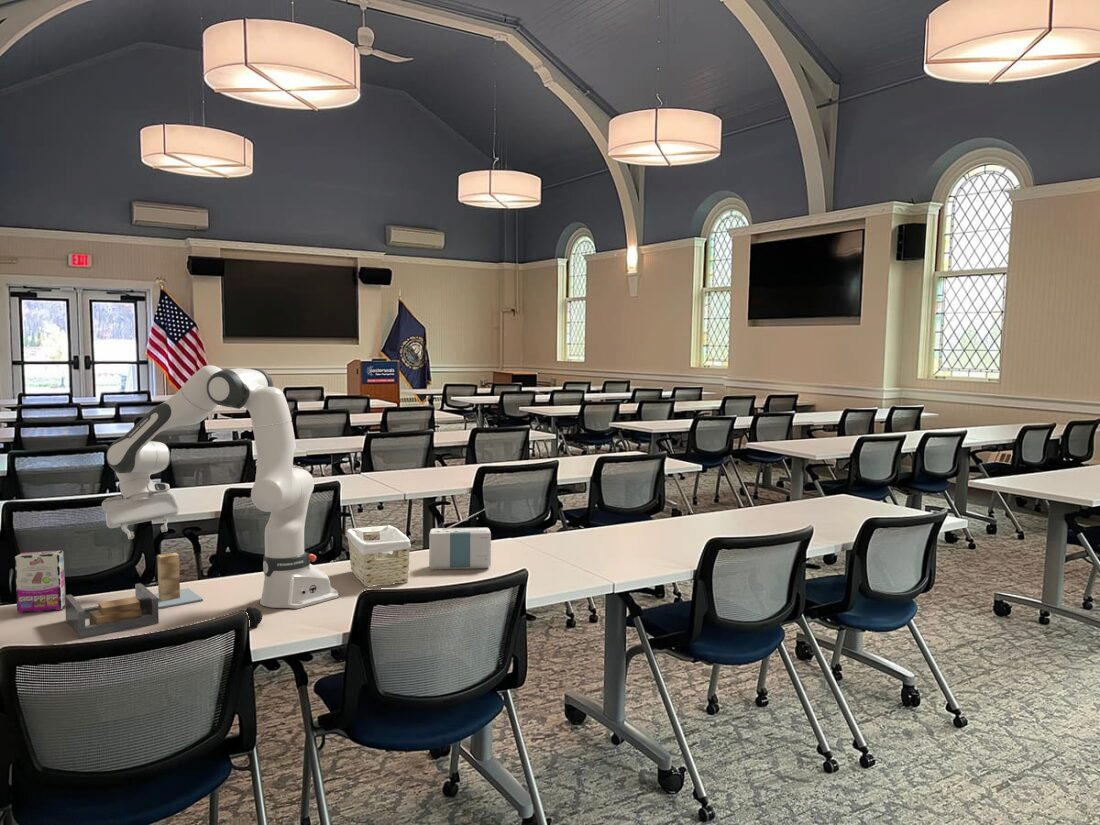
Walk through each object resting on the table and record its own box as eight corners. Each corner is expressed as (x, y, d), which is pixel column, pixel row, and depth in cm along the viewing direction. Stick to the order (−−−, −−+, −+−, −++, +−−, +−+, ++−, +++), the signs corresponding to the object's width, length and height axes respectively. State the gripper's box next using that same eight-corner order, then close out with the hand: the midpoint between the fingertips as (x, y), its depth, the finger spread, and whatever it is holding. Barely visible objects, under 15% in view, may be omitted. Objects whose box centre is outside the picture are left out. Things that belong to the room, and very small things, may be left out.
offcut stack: (137, 616, 226) (137, 595, 225) (145, 622, 221) (144, 601, 220) (89, 625, 218) (88, 604, 217) (95, 632, 213) (95, 610, 212)
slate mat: (188, 590, 250) (188, 588, 250) (202, 601, 240) (202, 599, 239) (139, 598, 241) (139, 596, 241) (151, 610, 231) (151, 608, 230)
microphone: (186, 652, 207) (265, 628, 219) (184, 634, 205) (264, 611, 216) (181, 640, 211) (259, 617, 223) (179, 622, 209) (258, 600, 220)
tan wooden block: (176, 595, 243) (175, 552, 242) (180, 597, 240) (178, 554, 239) (158, 598, 240) (157, 555, 239) (161, 601, 237) (160, 557, 236)
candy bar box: (66, 605, 234) (64, 549, 233) (61, 610, 230) (59, 553, 228) (22, 608, 231) (20, 551, 230) (16, 613, 226) (14, 556, 225)
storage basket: (412, 584, 260) (412, 538, 259) (362, 590, 253) (361, 543, 251) (392, 566, 281) (392, 524, 280) (345, 571, 274) (345, 528, 273)
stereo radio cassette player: (429, 571, 275) (429, 513, 273) (429, 565, 283) (429, 508, 281) (490, 569, 277) (491, 512, 276) (489, 563, 286) (489, 507, 284)
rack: (141, 607, 233) (140, 583, 233) (158, 623, 220) (158, 598, 219) (65, 620, 221) (64, 595, 221) (79, 638, 207) (78, 611, 207)
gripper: (101, 495, 240) (112, 539, 237) (174, 483, 253) (185, 524, 250) (98, 503, 245) (109, 545, 241) (169, 490, 258) (180, 530, 254)
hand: (148, 534), depth 246 cm, fingers open, 8 cm apart
